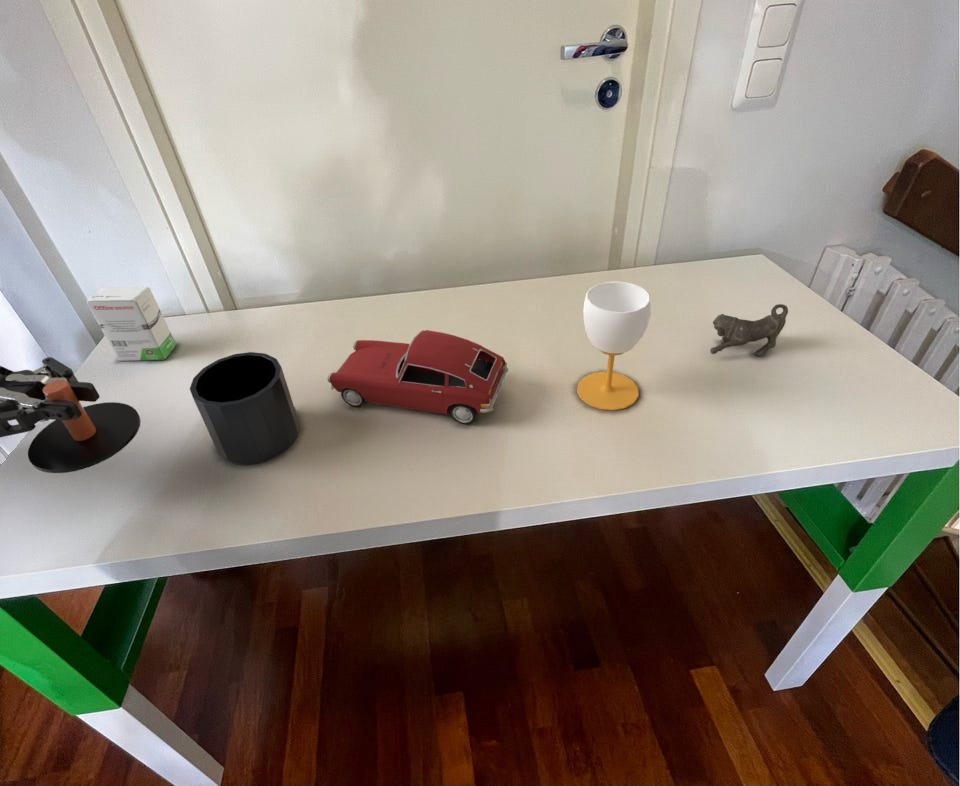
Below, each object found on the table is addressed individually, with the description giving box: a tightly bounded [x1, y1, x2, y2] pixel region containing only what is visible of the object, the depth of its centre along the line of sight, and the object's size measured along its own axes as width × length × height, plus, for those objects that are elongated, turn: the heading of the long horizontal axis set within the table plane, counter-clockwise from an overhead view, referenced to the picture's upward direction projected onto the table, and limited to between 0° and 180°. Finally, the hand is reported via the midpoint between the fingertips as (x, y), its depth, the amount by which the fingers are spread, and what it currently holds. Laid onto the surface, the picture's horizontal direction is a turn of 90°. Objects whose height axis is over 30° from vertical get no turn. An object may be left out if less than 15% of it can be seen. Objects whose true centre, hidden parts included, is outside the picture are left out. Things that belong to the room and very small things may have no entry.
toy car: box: [327, 329, 509, 425], centre depth 87 cm, size 11×25×10 cm, turn 74°
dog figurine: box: [709, 303, 789, 357], centre depth 93 cm, size 12×6×7 cm, turn 95°
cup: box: [576, 280, 652, 412], centre depth 83 cm, size 9×9×16 cm
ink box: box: [86, 286, 177, 362], centre depth 99 cm, size 9×5×12 cm, turn 86°
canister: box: [189, 351, 300, 466], centre depth 81 cm, size 11×11×10 cm
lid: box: [27, 380, 142, 474], centre depth 71 cm, size 12×12×9 cm
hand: (85, 401), depth 70 cm, fingers closed on lid, 2 cm apart
